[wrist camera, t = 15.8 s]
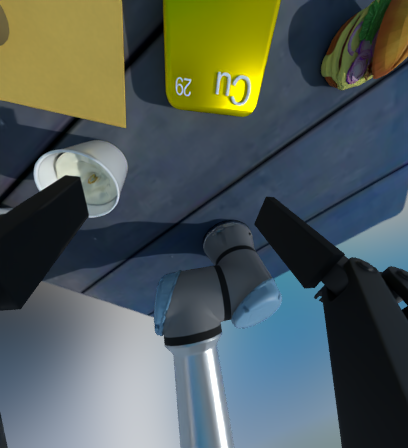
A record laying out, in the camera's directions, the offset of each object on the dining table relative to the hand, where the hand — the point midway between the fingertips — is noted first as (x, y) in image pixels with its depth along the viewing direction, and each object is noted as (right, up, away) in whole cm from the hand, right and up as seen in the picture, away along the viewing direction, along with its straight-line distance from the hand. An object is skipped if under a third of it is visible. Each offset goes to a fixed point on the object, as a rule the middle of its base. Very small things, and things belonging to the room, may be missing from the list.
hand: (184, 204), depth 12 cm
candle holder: (-18, +11, +20) cm, 29 cm away
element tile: (+3, +26, +14) cm, 29 cm away
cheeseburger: (+27, +29, +17) cm, 43 cm away
